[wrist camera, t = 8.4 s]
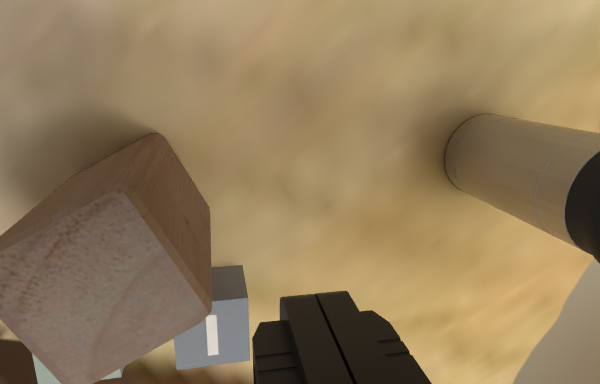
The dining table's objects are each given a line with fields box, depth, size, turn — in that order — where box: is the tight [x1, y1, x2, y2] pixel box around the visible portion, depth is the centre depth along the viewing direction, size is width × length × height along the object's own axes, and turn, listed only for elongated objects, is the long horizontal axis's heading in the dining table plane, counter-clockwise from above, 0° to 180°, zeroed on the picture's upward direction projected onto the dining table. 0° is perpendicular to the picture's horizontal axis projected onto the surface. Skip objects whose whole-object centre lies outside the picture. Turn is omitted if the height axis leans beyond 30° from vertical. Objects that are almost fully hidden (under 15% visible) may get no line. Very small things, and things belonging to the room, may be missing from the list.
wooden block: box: [0, 133, 212, 384], centre depth 33 cm, size 10×10×20 cm
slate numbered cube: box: [174, 265, 250, 370], centre depth 44 cm, size 7×7×7 cm
